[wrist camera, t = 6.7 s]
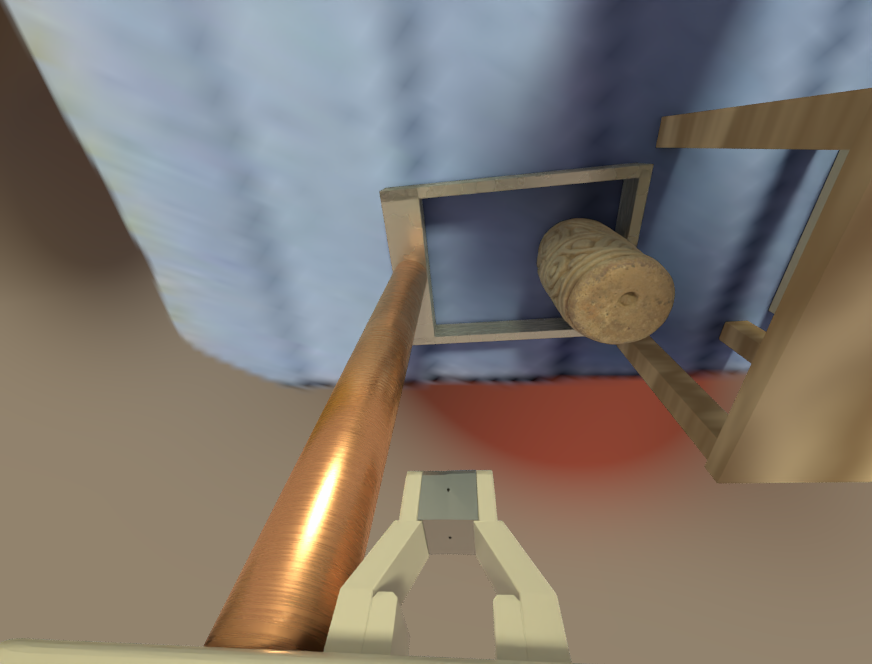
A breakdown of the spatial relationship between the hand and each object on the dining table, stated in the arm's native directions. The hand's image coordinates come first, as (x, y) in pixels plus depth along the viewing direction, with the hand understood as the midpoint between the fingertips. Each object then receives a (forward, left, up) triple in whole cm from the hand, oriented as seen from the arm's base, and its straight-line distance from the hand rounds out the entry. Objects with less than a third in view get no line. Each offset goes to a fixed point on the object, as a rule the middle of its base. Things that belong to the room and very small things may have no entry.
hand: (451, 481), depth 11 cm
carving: (-5, +9, -23) cm, 25 cm away
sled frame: (-2, +4, -23) cm, 23 cm away
